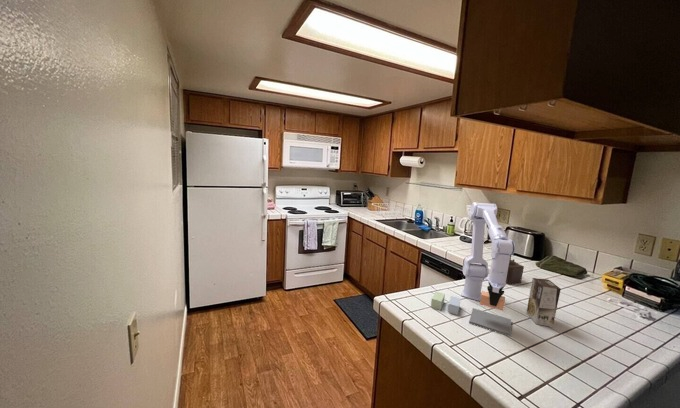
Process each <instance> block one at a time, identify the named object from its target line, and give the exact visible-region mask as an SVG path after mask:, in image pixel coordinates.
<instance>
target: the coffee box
mask: <svg viewBox="0 0 680 408" xmlns="http://www.w3.org/2000/svg"><path fill="white" fill-rule="evenodd" d="M530 284H531V285H530V291H529V296H528V303H527V308H526V315H527V316H528V317H529V318H530V319H531V321H533V322H534V324H535V325H539V326H546V327H551V328H553V327H554V323H555V318H556V314H557V313H556V312H557V308H558V304H559V299H560V294H561V290H562V289H561V288H560V287H559V286H558V285H557V284H556V283H554V282H553V281H551V280H550V279H548V278H547V279H546V278H536V277H532V280H531V283H530Z"/></svg>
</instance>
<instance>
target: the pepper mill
mask: <svg viewBox="0 0 680 408" xmlns="http://www.w3.org/2000/svg"><path fill="white" fill-rule="evenodd" d="M524 268H525V266H524V265H522V264H519V263H518V262H516V261H515V259H514V258H513V259H512V255H510V261H509V266H508V272H507V278H506V285H509V286H510V285H516V284H521V283H522V279H523V275H524Z"/></svg>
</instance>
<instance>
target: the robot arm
mask: <svg viewBox="0 0 680 408" xmlns="http://www.w3.org/2000/svg"><path fill="white" fill-rule="evenodd" d="M497 214H498V205H497V204H496V203H487V202H476V201H474V202H472V203H471V205H470V208H469V220H471V221H472V235H471V247H470V249H471V251H470V252H471V253H470V256H468V257H467V258H465V259H464V260H463V265H462V273H463V274H462V275H464V277H465V279H464V284H463V286H464V287H463V289H462V292H461V297H463V298H467V299H471V300H473V301H474V300H475V301H479V302H480V300H481V294H482V288H483V281H486V282H488V285H487V287H486V289H487V292H488V293H489V297H490V305H492V306H497V304H498V301H499V299H500V297H501V296H503V295H504V294H505V290H503V289H504V288H505V286H507V284H506V278H507V272H508V266H509V261H510V255H511V256H513V255H514V254H515V251H516V244H515V241H514V240H512V239H511V238H509V237H508V235H507V233H506V231H505V229H504V227H503V226H502V225H500V224H499V221H498V219H497ZM485 224H486V225H487V226H488V229H487V234H488V236H489V239H490V240H491V244H490V249H491V253H490V255H491V264H490V271H489V264H488V263H489V262H488V261H486V260H485V259H484V258H483V257H484V256H483V255H484V243H485V241H484V239H485V238H484V236H485Z"/></svg>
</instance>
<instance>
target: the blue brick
mask: <svg viewBox="0 0 680 408" xmlns="http://www.w3.org/2000/svg"><path fill="white" fill-rule="evenodd" d="M460 305H461V297H457V296H453V295H450V297H449V301H448V307H447V313H448V312H449V313H448V314H452V315H455V314H456V316H458V315H459V312H458V311H460Z"/></svg>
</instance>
